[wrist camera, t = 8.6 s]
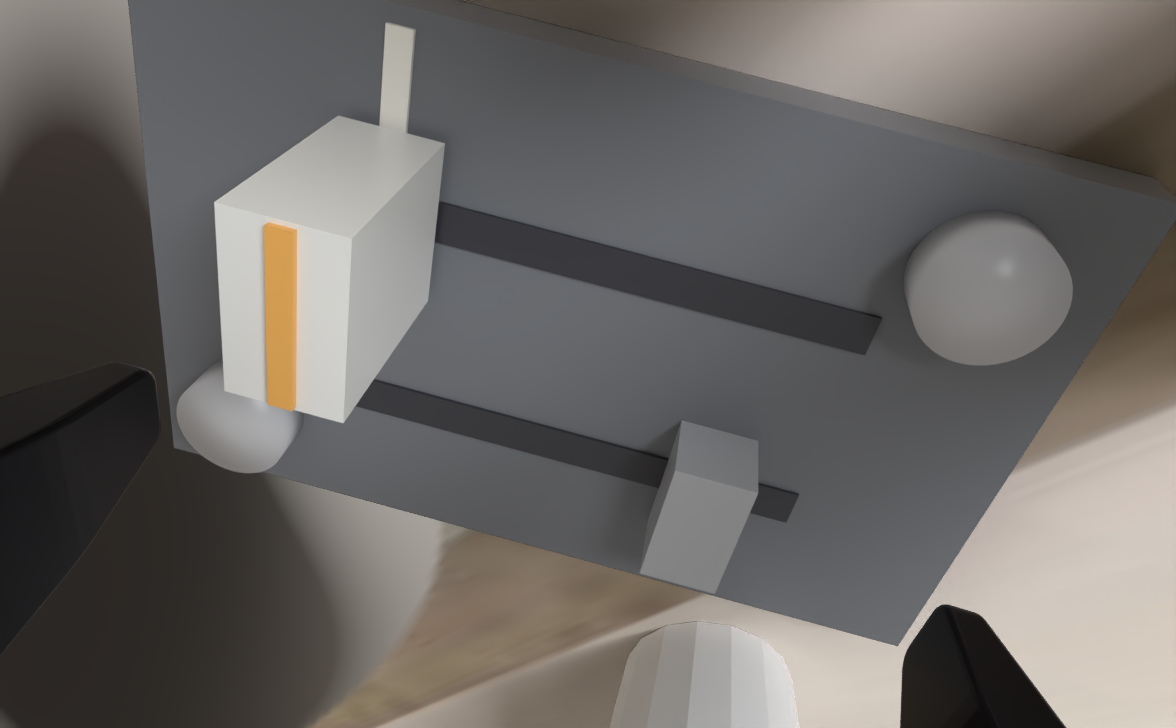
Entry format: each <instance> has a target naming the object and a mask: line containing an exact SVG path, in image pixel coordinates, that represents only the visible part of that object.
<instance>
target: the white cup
mask: <svg viewBox="0 0 1176 728" xmlns="http://www.w3.org/2000/svg"><path fill="white" fill-rule="evenodd" d="M609 728H799V722H798V715H797V708H796V702H795V695H794V688H793V681H792V677H791V675H790V673H789V670H788V668H787V666H786V663H785V661H784V658H783V657H782V656H781V655H780V654H779V653H777V652H776V651H775V650H774V649H773V648H772V647H771V646H770V645H768V644H767V643H766V642H765V641H764V640H763V639H762V638H759V637H757V636H755V635H752V634H750V633H747V632H745V631H743V630H740V629H738V628H736V627H733V626H730V625H722V624H715V623H707V622H700V621H695V622H688V623H681V624H674V625H667V626H664V627H662V628H660V629H658V630H656V631H654V632H652V633H650V634H648V635H646V636H645V637H643V638H641V639H640V641H639V642H638V643H637V645H636V646H635V648H634V649H633V650H632V652H631V653H630V654H629V656H628V659H627V663H626V666H625V670H624V674H623V677H622V681H621V685H620V689H619V692H618V696H617V700H616V703H615V707H614V711H613V714H612V718H611V722H610V726H609Z"/></svg>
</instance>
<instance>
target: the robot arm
mask: <svg viewBox="0 0 1176 728" xmlns="http://www.w3.org/2000/svg"><path fill="white" fill-rule="evenodd" d="M160 429H161V422H160V413H159V405H158V397H157V388H156V381H155V377H154V376H153V374H152V373H151V372H150V371H148V370H147V369H144V368H141V367H137V366H134V365H131V364H127V363H124V362H118V361H113V362H109V363H105V364H102V365H99V366H96V367H93V368H90V369H86V370H84V371H80V372H77V373H74V374H71V375H68V376H65V377H62V378H58V379H55V380H52V381H49V382H46V383H43V384H40V385H37V386H33V387H30V388H27V389H24V390H21V391H18V392H15V393H12V394H9V395H6V396H3V397H0V656H1V655H2V654H3V653H4V651H5V650H6V649H7V647H9V645H10V644H11V643H12V642H13V640H14V639H15V638H16V637H17V636H18V634H19V633H20V632H21V631H22V629H23V628H24V627H25V626H26V625H27V623H28V622H29V621H30V620H31V618H32V617H33V616H34V615H35V614H36V612H37V611H38V610H39V609H40V608H41V606H42V605H43V604H44V603H45V601H46V600H47V599H48V598H49V596H50V595H51V594H52V593H53V592H54V590H55V589H56V588H57V587H58V586H59V584H60V583H61V582H62V581H63V579H64V578H65V577H66V576H67V574H68V573H69V572H70V571H71V570H72V568H73V567H74V566H75V564H76V563H77V562H78V560H79V559H80V558H81V557H82V555H83V554H84V553H85V551H86V550H87V548H88V547H89V546H90V544H91V543H92V541H93V540H94V538H95V537H96V535H97V534H98V532H99V530H100V529H101V528H102V526H103V525H104V523H105V522H106V520H107V519H108V517H109V516H110V514H111V512H112V511H113V509H114V508H115V506H116V505H117V503H118V502H119V500H120V499H121V497H122V496H123V494H124V493H125V491H126V490H127V488H128V486H129V485H130V483H131V482H132V480H133V479H134V477H135V476H136V474H137V473H138V471H139V470H140V468H141V467H142V465H143V464H144V462H145V461H146V459H147V457H148V456H149V455H150V453H151V451H152V450H153V448H154V447H155V445H156V443H157V440H158V438H159V435H160ZM900 728H1066V727H1065V725H1064V724H1063V723H1062V721H1061V720H1060V719H1059V717H1058V716H1057V715H1056V713H1055V712H1054V711H1053V709H1052V708H1051V707H1050V705H1049V704H1048V703H1047V701H1046V700H1045V699H1044V697H1043V696H1042V695H1041V693H1040V692H1039V691H1038V689H1037V688H1036V687H1035V685H1034V684H1033V683H1032V682H1031V680H1030V679H1029V678H1028V676H1027V675H1026V674H1025V672H1024V671H1023V670H1022V668H1021V667H1020V666H1019V664H1018V663H1017V662H1016V660H1015V659H1014V658H1013V656H1012V655H1011V654H1010V652H1009V651H1008V650H1007V648H1006V647H1005V646H1004V644H1003V643H1002V642H1001V640H1000V639H999V638H998V636H997V635H996V634H995V632H994V631H993V630H992V628H991V627H990V626H989V624H988V623H987V622H986V621H985V619H984V618H983V617H981V616H980V615H979V614H977V613H975V612H971V611H968V610H964V609H961V608H958V607H954V606H951V605H941V606H939V607H937V608H936V609H935V610H934V611H933V613H932V614H931V616H930V617H929V618H928V620H927V621H926V623H925V624H924V626H923V627H922V629H921V630H920V631H919V633H918V634H917V636H916V637H915V639H914V640H913V642H912V643H911V645H910V646H909V648H908V650H907V652H906V654H905V658H904V662H903V668H902V692H901V720H900Z"/></svg>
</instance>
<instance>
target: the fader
mask: <svg viewBox="0 0 1176 728" xmlns="http://www.w3.org/2000/svg"><path fill="white" fill-rule="evenodd" d="M444 148H445V143H442V142H438V141H434V140H431V139H427V138H423V137H419V136H415V135H411V134H408V133H404V132H400V131H396V130H392V129H388V128H384V127H381V126H377V125H373V124H369V123H365V122H361V121H358V120H354V119H350V118H346V117H342V116H337V117H335V118H334V119H333V120H331V121H330V122H328V123H327V124H325V125H324V126H322V127H321V128H320V129H318V130H317V131H315V132H314V133H312V134H311V135H310V136H308V137H307V138H305V139H304V140H302V141H301V142H300V143H298V144H297V145H295V146H294V147H292V148H291V149H290V150H288V151H287V152H285V153H284V154H282V155H281V156H280V157H278V158H277V159H275V160H274V161H272V162H271V163H269V164H268V165H267V166H265V167H264V168H262V169H261V170H259V171H258V172H257V173H255V174H254V175H252V176H251V177H249V178H248V179H247V180H245V181H244V182H242V183H241V184H239V185H238V186H237V187H235V188H234V189H232V190H231V191H229V192H228V193H227V194H225V195H224V196H222V197H221V198H219V199H218V200H217V201H215V202H214V210H215V228H216V246H217V264H218V282H219V300H220V318H221V336H222V355H223V373H224V391H226V392H230V393H233V394H237V395H241V396H244V397H248V398H252V399H255V400H259V401H263V402H266V403H267V405H271V406H274V407H278V408H282V409H285V410H289V411H293V410H296V411H300V412H303V413H307V414H311V415H314V416H318V417H322V418H325V419H329V420H333V421H336V422H340V423H344V422H345V420H346V419H347V417H348V416H349V415H350V413H351V412H352V410H353V409H354V407H355V406H356V404H357V403H358V402H359V400H360V399H361V397H362V396H363V394H364V393H365V391H366V390H367V388H368V387H369V386H370V384H371V383H372V381H373V380H374V378H375V377H376V375H377V374H378V373H379V371H380V370H381V368H382V367H383V365H384V364H385V362H386V361H387V360H388V358H389V357H390V355H391V354H392V352H393V351H394V349H395V348H396V346H397V345H398V344H399V342H400V341H401V339H402V338H403V336H404V335H405V333H406V332H407V331H408V329H409V328H410V326H411V325H412V323H413V322H414V320H415V319H416V318H417V316H418V315H419V313H420V312H421V310H422V309H423V307H424V306H425V304H426V303H427V302H428V296H429V287H430V278H431V269H432V259H433V250H434V241H435V232H436V222H437V213H438V204H439V195H440V185H441V176H442V167H443V158H444Z"/></svg>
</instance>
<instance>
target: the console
mask: <svg viewBox="0 0 1176 728" xmlns="http://www.w3.org/2000/svg"><path fill="white" fill-rule="evenodd" d="M128 5H129V14H130V24H131V33H132V43H133V54H134V63H135V73H136V83H137V92H138V102H139V112H140V121H141V131H142V141H143V151H144V161H145V170H146V180H147V190H148V199H149V209H150V219H151V228H152V238H153V248H154V258H155V267H156V277H157V287H158V296H159V306H160V316H161V325H162V336H163V346H164V355H165V364H166V375H167V384H168V394H169V404H170V413H171V423H172V433H173V443H174V448H177V449H181V450H184V451H188V452H191V453H195V454H199V455H202V456H203V457H205V458H206V459H208V460H209V461H211V462H212V463H214V464H216V465H218V466H220V467H223V468H225V469H228V470H231V471H235V472H240V473H258V472H264V473H268V474H272V475H275V476H279V477H283V478H287V479H290V480H293V481H297V482H301V483H304V484H308V485H312V486H315V487H319V488H323V489H327V490H330V491H334V492H337V493H341V494H344V495H348V496H352V497H355V498H359V499H363V500H366V501H370V502H374V503H377V504H381V505H385V506H388V507H392V508H395V509H399V510H403V511H407V512H410V513H414V514H418V515H421V516H425V517H429V518H432V519H436V520H439V521H443V522H447V523H450V524H454V525H457V526H461V527H465V528H468V529H472V530H476V531H479V532H483V533H487V534H490V535H494V536H498V537H501V538H505V539H508V540H512V541H516V542H519V543H523V544H527V545H530V546H534V547H538V548H541V549H545V550H549V551H552V552H556V553H560V554H563V555H567V556H570V557H574V558H578V559H581V560H585V561H589V562H592V563H596V564H600V565H603V566H607V567H611V568H614V569H618V570H621V571H625V572H629V573H632V574H636V575H640V576H643V577H647V578H651V579H654V580H658V581H662V582H665V583H669V584H673V585H676V586H680V587H683V588H687V589H691V590H694V591H698V592H702V593H705V594H709V595H713V596H716V597H720V598H724V599H727V600H731V601H734V602H738V603H742V604H745V605H749V606H753V607H756V608H760V609H764V610H767V611H771V612H775V613H778V614H782V615H786V616H789V617H793V618H796V619H800V620H804V621H807V622H811V623H815V624H818V625H822V626H826V627H829V628H833V629H837V630H840V631H844V632H847V633H851V634H855V635H858V636H862V637H866V638H869V639H873V640H877V641H880V642H884V643H888V644H891V645H895V646H898V645H899V643H900V642H901V640H902V639H903V637H904V636H905V634H906V633H907V631H908V630H909V628H910V627H911V625H912V624H913V622H914V620H915V619H916V617H917V616H918V614H919V613H920V611H921V610H922V608H923V607H924V605H925V604H926V602H927V601H928V599H929V597H930V596H931V594H932V593H933V591H934V590H935V588H936V587H937V585H938V584H939V582H940V581H941V579H942V578H943V576H944V575H945V573H946V571H947V570H948V568H949V567H950V565H951V564H952V562H953V561H954V559H955V558H956V556H957V555H958V553H959V552H960V550H961V548H962V547H963V545H964V544H965V542H966V541H967V539H968V538H969V536H970V535H971V533H972V532H973V530H974V529H975V527H976V525H977V524H978V522H979V521H980V519H981V518H982V516H983V515H984V513H985V512H986V510H987V509H988V507H989V506H990V504H991V502H992V501H993V499H994V498H995V496H996V495H997V493H998V492H999V490H1000V489H1001V487H1002V486H1003V484H1004V483H1005V481H1006V480H1007V478H1008V476H1009V475H1010V473H1011V472H1012V470H1013V469H1014V467H1015V466H1016V464H1017V463H1018V461H1019V460H1020V458H1021V457H1022V455H1023V453H1024V452H1025V450H1026V449H1027V447H1028V446H1029V444H1030V443H1031V441H1032V440H1033V438H1034V437H1035V435H1036V434H1037V432H1038V430H1039V429H1040V427H1041V426H1042V424H1043V423H1044V421H1045V420H1046V418H1047V417H1048V415H1049V414H1050V412H1051V411H1052V409H1053V407H1054V406H1055V404H1056V403H1057V401H1058V400H1059V398H1060V397H1061V395H1062V394H1063V392H1064V391H1065V389H1066V388H1067V386H1068V385H1069V383H1070V381H1071V380H1072V378H1073V377H1074V375H1075V374H1076V372H1077V371H1078V369H1079V368H1080V366H1081V365H1082V363H1083V362H1084V360H1085V358H1086V357H1087V355H1088V354H1089V352H1090V351H1091V349H1092V348H1093V346H1094V345H1095V343H1096V342H1097V340H1098V339H1099V337H1100V335H1101V334H1102V332H1103V331H1104V329H1105V328H1106V326H1107V325H1108V323H1109V322H1110V320H1111V319H1112V317H1113V316H1114V314H1115V312H1116V311H1117V309H1118V308H1119V306H1120V305H1121V303H1122V302H1123V300H1124V299H1125V297H1126V296H1127V294H1128V293H1129V291H1130V289H1131V288H1132V286H1133V285H1134V283H1135V282H1136V280H1137V279H1138V277H1139V276H1140V274H1141V273H1142V271H1143V270H1144V268H1145V267H1146V265H1147V263H1148V262H1149V260H1150V259H1151V257H1152V256H1153V254H1154V253H1155V251H1156V250H1157V248H1158V247H1159V245H1160V244H1161V242H1162V240H1163V239H1164V237H1165V236H1166V234H1167V233H1168V231H1169V230H1170V228H1171V227H1172V225H1173V224H1174V222H1175V221H1176V196H1175V195H1174V194H1172V193H1171V192H1170V191H1169V190H1168V189H1167V188H1166V187H1165V186H1164V185H1162V184H1161V183H1160V182H1159V181H1158V180H1157V179H1156V178H1152V177H1148V176H1144V175H1140V174H1136V173H1133V172H1129V171H1125V170H1121V169H1117V168H1113V167H1109V166H1105V165H1101V164H1097V163H1093V162H1089V161H1085V160H1082V159H1078V158H1074V157H1070V156H1066V155H1062V154H1058V153H1054V152H1050V151H1046V150H1042V149H1038V148H1034V147H1031V146H1027V145H1023V144H1019V143H1015V142H1011V141H1007V140H1003V139H999V138H995V137H991V136H987V135H983V134H980V133H976V132H972V131H968V130H964V129H960V128H956V127H952V126H948V125H944V124H940V123H936V122H932V121H929V120H925V119H921V118H917V117H913V116H909V115H905V114H901V113H897V112H893V111H889V110H885V109H881V108H878V107H874V106H870V105H866V104H862V103H858V102H854V101H850V100H846V99H842V98H838V97H834V96H830V95H827V94H823V93H819V92H815V91H811V90H807V89H803V88H799V87H795V86H791V85H787V84H783V83H779V82H776V81H772V80H768V79H764V78H760V77H756V76H752V75H748V74H744V73H740V72H736V71H732V70H728V69H725V68H721V67H717V66H713V65H709V64H705V63H701V62H697V61H693V60H689V59H685V58H681V57H677V56H674V55H670V54H666V53H662V52H658V51H654V50H650V49H646V48H642V47H638V46H634V45H630V44H626V43H623V42H619V41H615V40H611V39H607V38H603V37H599V36H595V35H591V34H587V33H583V32H579V31H575V30H572V29H568V28H564V27H560V26H556V25H552V24H548V23H544V22H540V21H536V20H532V19H528V18H524V17H521V16H517V15H513V14H509V13H505V12H501V11H497V10H493V9H489V8H485V7H481V6H477V5H473V4H470V3H466V2H462V1H458V0H128ZM337 116H342V117H346V118H350V119H354V120H358V121H361V122H365V123H369V124H373V125H377V126H381V127H384V128H388V129H392V130H396V131H400V132H404V133H408V134H411V135H415V136H419V137H423V138H427V139H431V140H434V141H438V142H442V143H445V148H444V158H443V167H442V176H441V185H440V195H439V204H438V213H437V222H436V232H435V241H434V250H433V259H432V269H431V278H430V287H429V296H428V302H427V303H426V304H425V306H424V307H423V309H422V310H421V312H420V313H419V315H418V316H417V318H416V319H415V320H414V322H413V323H412V325H411V326H410V328H409V329H408V331H407V332H406V333H405V335H404V336H403V338H402V339H401V341H400V342H399V344H398V345H397V346H396V348H395V349H394V351H393V352H392V354H391V355H390V357H389V358H388V360H387V361H386V362H385V364H384V365H383V367H382V368H381V370H380V371H379V373H378V374H377V375H376V377H375V378H374V380H373V381H372V383H371V384H370V386H369V387H368V388H367V390H366V391H365V393H364V394H363V396H362V397H361V399H360V400H359V402H358V403H357V404H356V406H355V407H354V409H353V410H352V412H351V413H350V415H349V416H348V417H347V419H346V420H345V422H344V423H340V422H336V421H333V420H329V419H325V418H322V417H318V416H314V415H311V414H307V413H303V412H300V411H296V410H293V411H289V410H285V409H282V408H278V407H274V406H271V405H267V403H266V402H263V401H259V400H255V399H252V398H248V397H244V396H241V395H237V394H233V393H230V392H226V391H224V373H223V355H222V336H221V318H220V300H219V282H218V264H217V246H216V228H215V210H214V202H215V201H217V200H218V199H219V198H221V197H222V196H224V195H225V194H227V193H228V192H229V191H231V190H232V189H234V188H235V187H237V186H238V185H239V184H241V183H242V182H244V181H245V180H247V179H248V178H249V177H251V176H252V175H254V174H255V173H257V172H258V171H259V170H261V169H262V168H264V167H265V166H267V165H268V164H269V163H271V162H272V161H274V160H275V159H277V158H278V157H280V156H281V155H282V154H284V153H285V152H287V151H288V150H290V149H291V148H292V147H294V146H295V145H297V144H298V143H300V142H301V141H302V140H304V139H305V138H307V137H308V136H310V135H311V134H312V133H314V132H315V131H317V130H318V129H320V128H321V127H322V126H324V125H325V124H327V123H328V122H330V121H331V120H333V119H334V118H335V117H337Z"/></svg>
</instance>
